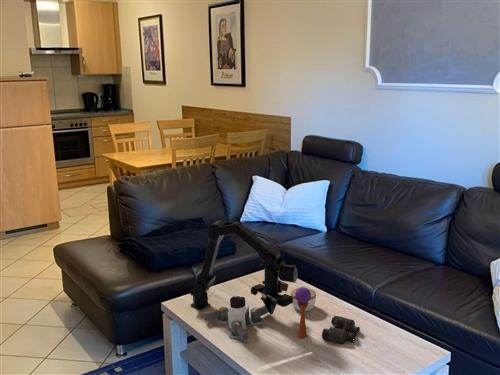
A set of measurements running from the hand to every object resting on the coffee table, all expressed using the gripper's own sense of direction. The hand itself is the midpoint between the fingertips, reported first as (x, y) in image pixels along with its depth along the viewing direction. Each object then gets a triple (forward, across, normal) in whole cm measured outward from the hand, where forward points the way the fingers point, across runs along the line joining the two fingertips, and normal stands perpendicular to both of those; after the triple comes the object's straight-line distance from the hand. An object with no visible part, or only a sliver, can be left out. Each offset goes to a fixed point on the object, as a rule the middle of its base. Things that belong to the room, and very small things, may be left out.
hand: (271, 314), depth 201 cm
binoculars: (+3, -28, -10) cm, 30 cm away
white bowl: (+3, -4, -16) cm, 17 cm away
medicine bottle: (+2, +6, +12) cm, 14 cm away
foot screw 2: (+2, +4, +6) cm, 7 cm away
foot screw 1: (+3, +14, +14) cm, 20 cm away
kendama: (+3, -18, +2) cm, 18 cm away
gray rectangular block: (+2, +2, +18) cm, 19 cm away
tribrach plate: (+2, +6, +12) cm, 14 cm away
